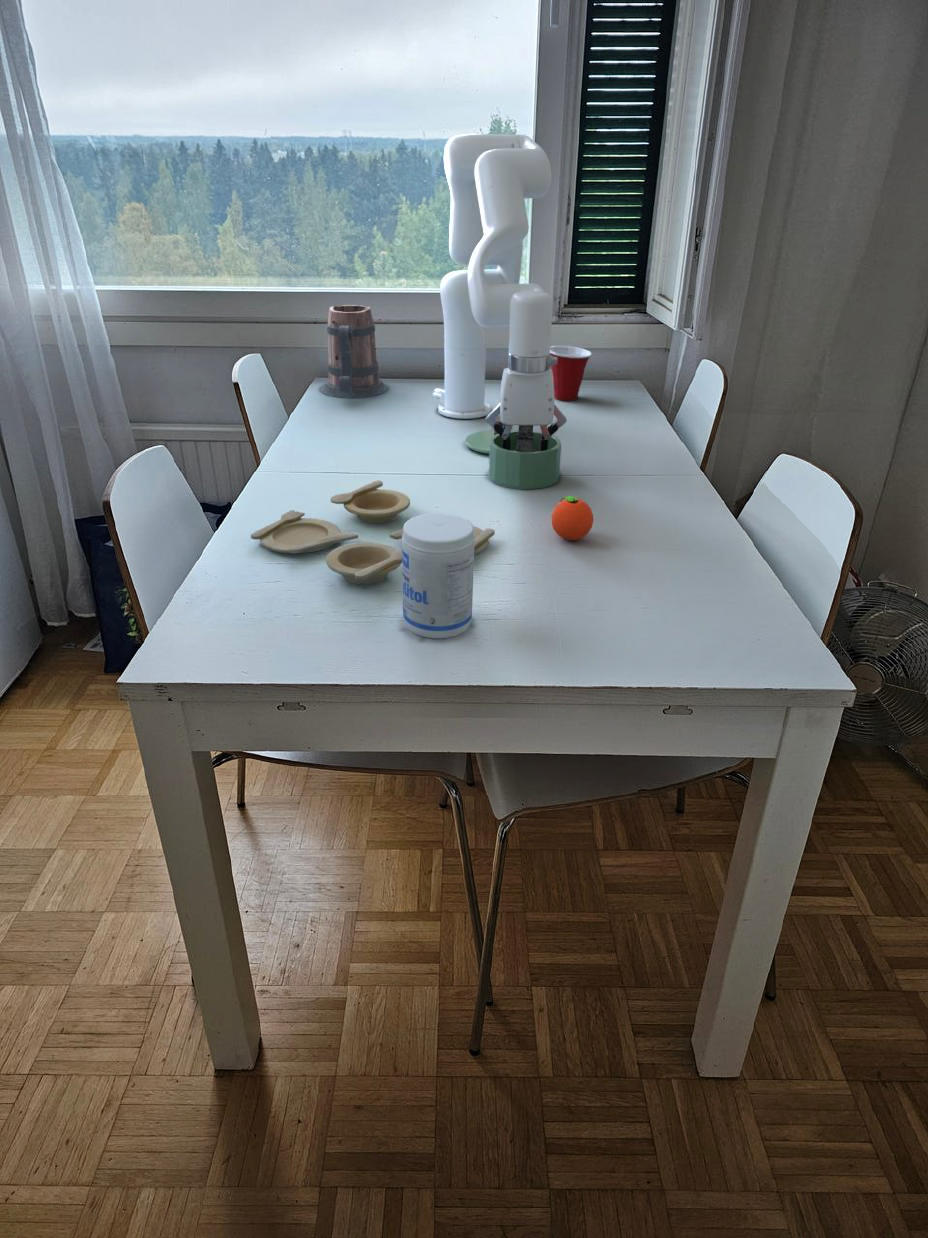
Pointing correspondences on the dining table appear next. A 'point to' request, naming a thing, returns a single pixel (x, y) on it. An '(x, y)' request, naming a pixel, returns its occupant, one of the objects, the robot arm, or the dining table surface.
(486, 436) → the lid
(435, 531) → the supplement tub
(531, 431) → the salt shaker
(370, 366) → the tankard
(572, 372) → the plastic cup
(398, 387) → the dining table surface
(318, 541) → the tableware set
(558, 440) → the bowl
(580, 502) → the clementine
